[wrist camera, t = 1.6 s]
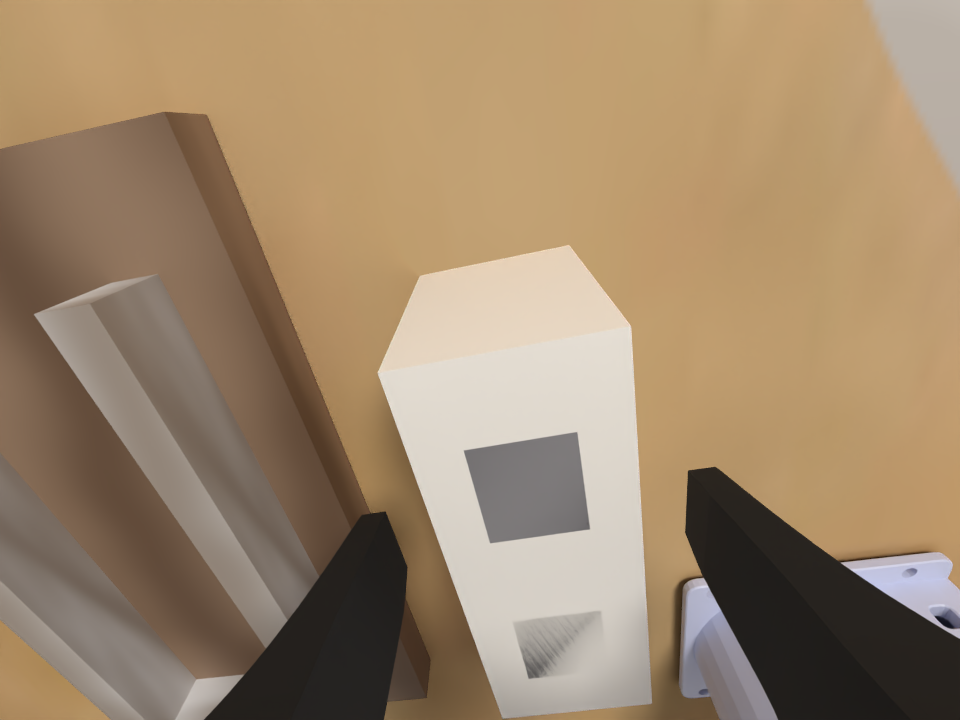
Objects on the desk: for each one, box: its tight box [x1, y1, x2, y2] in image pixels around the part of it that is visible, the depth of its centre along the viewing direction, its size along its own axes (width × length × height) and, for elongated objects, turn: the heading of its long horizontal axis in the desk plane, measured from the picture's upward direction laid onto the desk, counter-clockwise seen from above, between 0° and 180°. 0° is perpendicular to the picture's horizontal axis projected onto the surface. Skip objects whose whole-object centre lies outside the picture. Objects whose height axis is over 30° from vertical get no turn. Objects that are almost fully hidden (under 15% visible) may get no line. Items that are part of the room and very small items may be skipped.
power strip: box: [378, 245, 652, 719], centre depth 12 cm, size 4×11×6 cm, turn 12°
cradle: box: [0, 112, 430, 720], centre depth 14 cm, size 12×22×4 cm, turn 10°
